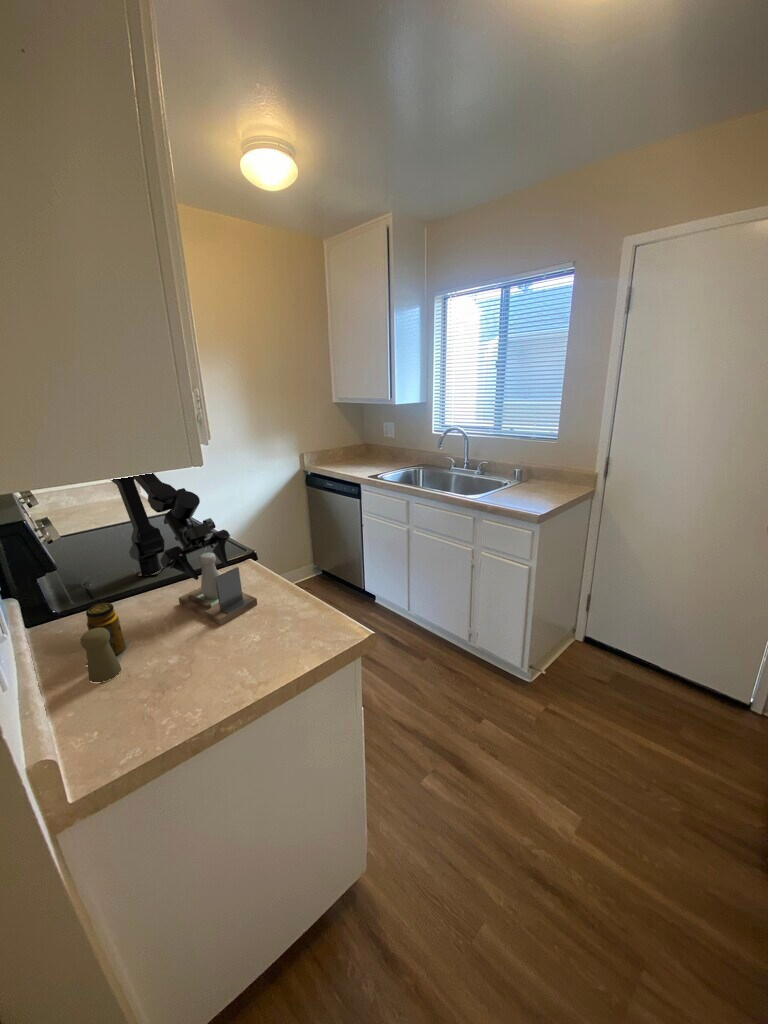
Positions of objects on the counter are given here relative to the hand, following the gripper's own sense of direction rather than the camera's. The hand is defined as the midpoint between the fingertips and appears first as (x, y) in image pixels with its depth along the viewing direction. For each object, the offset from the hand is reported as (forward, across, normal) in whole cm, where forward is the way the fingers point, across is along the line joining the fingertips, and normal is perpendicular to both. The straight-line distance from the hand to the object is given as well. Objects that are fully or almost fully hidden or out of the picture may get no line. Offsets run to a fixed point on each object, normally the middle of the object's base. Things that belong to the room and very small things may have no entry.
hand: (212, 572), depth 114 cm
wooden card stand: (+7, 0, +7) cm, 10 cm away
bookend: (+11, 0, 0) cm, 11 cm away
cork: (+10, -31, +4) cm, 33 cm away
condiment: (+6, -28, +9) cm, 30 cm away
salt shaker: (+5, 0, +7) cm, 8 cm away
